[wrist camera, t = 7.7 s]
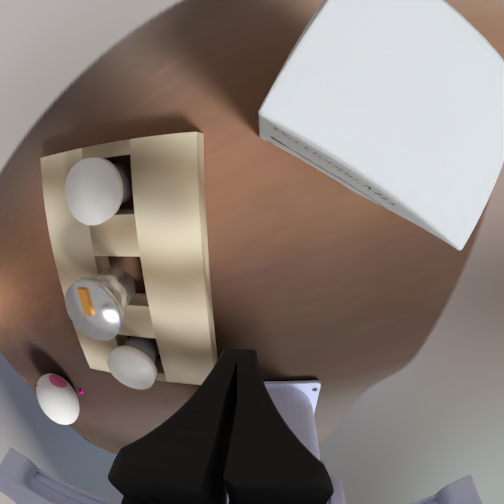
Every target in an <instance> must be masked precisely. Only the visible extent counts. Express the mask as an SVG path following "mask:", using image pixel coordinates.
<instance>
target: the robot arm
mask: <svg viewBox="0 0 504 504" xmlns="http://www.w3.org/2000/svg"><path fill="white" fill-rule="evenodd" d="M320 386H321V384H320V381H318V380H309V381H263V379H262V376H261V373H260V370H259V367H258V362H257V357H256V351H255V350H244V349H224V350H223V351H222V353H221V355H220V357H219V359H218V360H217V362H216V364H215V365H214V367H213V369H212V370H211V372H210V373H209V375H208V376H207V377H206V379H205V380H204V382H203V383H202V384H201V386H200V387H199V388H198V389H197V390H196V392H195V393H194V394H193V395H192V397H191V398H190V399H189V400H188V401H187V402H186V403H185V404H184V405H183V406H182V407H181V408H180V409H179V410H178V411H177V412H176V413H175V414H173V415H172V416H171V417H170V418H169V419H168V420H166V421H165V422H164V423H163V424H161V425H160V426H158V427H157V428H156V429H154V430H153V431H151V432H150V433H148V434H147V435H145V436H144V437H142V438H140V439H138V440H137V441H135V442H133V443H131V444H129V445H127V446H125V447H123V448H121V450H120V451H119V453H118V455H117V456H116V458H115V460H114V462H113V465H112V467H111V470H110V472H109V475H108V479H109V481H110V482H111V484H112V485H113V486H114V487H115V488H116V489H117V490H119V492H120V493H121V494H123V495H124V497H123V500H122V503H121V504H345V496H344V491H343V486H342V483H341V480H340V479H339V478H338V477H336V476H334V474H328V472H327V470H326V468H325V466H324V464H323V463H322V462H321V461H320V455H319V448H318V441H317V434H316V427H315V420H314V412H315V408H316V404H317V399H318V395H319V391H320ZM0 491H1V492H3V493H4V494H5V495H6V496H8V497H9V498H10V499H12V500H13V501H14V502H16V503H17V504H117V503H114V502H111V501H108V500H105V499H103V498H100V497H98V496H95V495H92V494H90V493H87V492H85V491H83V490H80V489H78V488H76V487H73V486H72V485H69V484H67V483H65V482H63V481H61V480H59V479H57V478H55V477H53V476H51V475H49V474H47V473H45V472H44V471H42V470H40V469H38V468H37V466H36V465H35V464H34V463H33V462H32V461H30V460H29V459H28V458H27V457H25V456H24V455H22V454H20V453H19V452H17V451H16V450H14V449H12V448H10V449H9V451H8V452H7V454H6V456H5V457H4V459H3V461H2V463H1V464H0ZM411 504H482V503H481V500H480V498H479V495H478V492H477V489H476V487H475V484H474V482H473V479H472V477H471V475H468V476H466V477H464V478H462V479H460V480H457V481H455V482H453V483H451V484H449V485H447V486H445V487H444V488H442V489H441V490H440V491H439V492H438V493H437V494H435V495H433V496H431V497H428V498H425V499H422V500H420V501H417V502H414V503H411Z"/></svg>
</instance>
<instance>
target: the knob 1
mask: <svg viewBox="0 0 504 504" xmlns="http://www.w3.org/2000/svg"><path fill="white" fill-rule="evenodd" d="M132 196H133V190H132V176H131V168H130V167H128V166H127V165H125V164H122V163H116V164H112V163H111V162H110V161H108V160H106V159H104V158H100V157H94V158H86V159H83V160H80V161H79V162H77V163H76V164H75V165H74V166H73V167H72V168H71V170H70V171H69V173H68V175H67V178H66V182H65V199H66V203H67V206H68V208H69V210H70V212H71V213H72V215H73V216H74V217H75V218H76V219H77V220H78V221H80V222H81V223H83V224H86V225H98V224H101V223H103V222H105V221H107V220H109V219H110V218H112V217H113V216H114V215H115V214H116V212H117V211H118V209H119V208H120V205H121V204H122V203H125V202H127V201H128V200H129V199H130V198H131V197H132Z"/></svg>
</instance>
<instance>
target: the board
mask: <svg viewBox="0 0 504 504" xmlns="http://www.w3.org/2000/svg"><path fill="white" fill-rule="evenodd" d="M125 155H130V158H131V176H132V190H133V202H134V209H119V210H118V211H117V212H116V214H115V215H114V216H113V217H112V218H110V219H109V220H107V221H105V222H103V223H101V224H98V225H86V224H83V223H81V222H80V221H78V220H77V219H76V218H75V217H74V216H73V215H72V213H71V212H70V210H69V208H68V206H67V203H66V199H65V182H66V178H67V175H68V173H69V171H70V170H71V168H72V167H73V166H74V165H75V164H76V163H77V162H79V161H80V160H83V159H86V158H94V157H100V158H104V159H105V158H111V157H118V156H125ZM40 159H41V174H42V186H43V195H44V203H45V211H46V217H47V224H48V230H49V235H50V240H51V245H52V250H53V255H54V259H55V264H56V268H57V272H58V276H59V280H60V283H61V287H62V290H63V294H64V297H65V295H66V292H67V290H68V288H69V287H70V286H71V285H72V284H74V283H75V282H76V281H77V280H79V279H80V278H83V277H93V278H95V277H96V276H97V275H98V274H99V273H101V272H102V271H103V270H104V269H105V268H107V267H109V266H110V263H109V258H108V256H137V257H140V259H141V266H142V272H143V278H144V284H145V289H146V294H144V293H135V295H134V297H133V299H132V300H131V301H130V303H129V304H128V305H127V306H126V308H125V309H124V313H125V321H124V324H123V326H122V328H121V329H120V331H119V332H118V334H117V335H116V336H115V337H114V338H113V339H111V340H108V341H99V340H95V339H92V338H90V337H88V336H87V335H85V334H84V333H83V332H81V331H80V330H79V329H78V328H77V327H76V326H75V324H74V323H73V325H74V328H75V331H76V334H77V336H78V339H79V342H80V344H81V347H82V349H83V352H84V354H85V357H86V359H87V361H88V364H89V366H90V368H92V369H97V370H102V371H106V372H110V370H109V368H108V365H107V359H108V357H109V355H110V354H111V352H112V351H113V349H114V348H116V347H118V346H124V345H125V344H126V342H127V340H128V338H127V335H128V336H136V337H145V338H155V339H156V341H157V345H158V350H159V354H160V357H161V359H160V358H157V359H156V361H155V363H154V364H155V366H156V369H157V376H156V378H155V380H159V381H167V382H176V383H185V384H195V385H201V384H202V383H203V382H204V380H205V379H206V377H207V376H208V375H209V373H210V372H211V370H212V369H213V367H214V365H215V364H216V362H217V360H218V358H217V349H216V339H215V329H214V318H213V307H212V295H211V283H210V269H209V255H208V239H207V222H206V201H205V176H204V137H203V133H200V132H186V133H175V134H165V135H157V136H149V137H141V138H134V139H127V140H121V141H115V142H109V143H104V144H98V145H93V146H88V147H84V148H79V149H75V150H70V151H66V152H62V153H58V154H54V155H50V156H46V157H42V158H40Z"/></svg>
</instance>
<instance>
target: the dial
mask: <svg viewBox="0 0 504 504" xmlns="http://www.w3.org/2000/svg"><path fill="white" fill-rule="evenodd" d="M134 295H135V284H134V281H133V279H132V277H131V276H130V275H129V274H128V272H126V271H125V270H124V269H122V268H120V267H117V266H109V267H107V268H105V269H104V270H103V271H102V272H101V273H99V274H98V275H97V276H96V277H95V278H93V277H83V278H80V279H79V280H77V281H76V282H75V283H74V284H72V285H71V286H70V287H69V288H68V290H67V292H66V295H65V306H66V310H67V312H68V315H69V317H70V319H71V320H72V322H73V323H74V324H75V326H76V327H77V328H78V329H79V330H80V331H81V332H83V333H84V334H85V335H87V336H88V337H90V338H92V339H95V340H99V341H108V340H111V339H113V338H114V337H115V336H116V335H117V334H118V332H119V331H120V329H121V328H122V326H123V324H124V321H125V313H124V309H125V308H126V306H127V305H128V304H129V303H130V301H131V300H132V299H133V297H134Z"/></svg>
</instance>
